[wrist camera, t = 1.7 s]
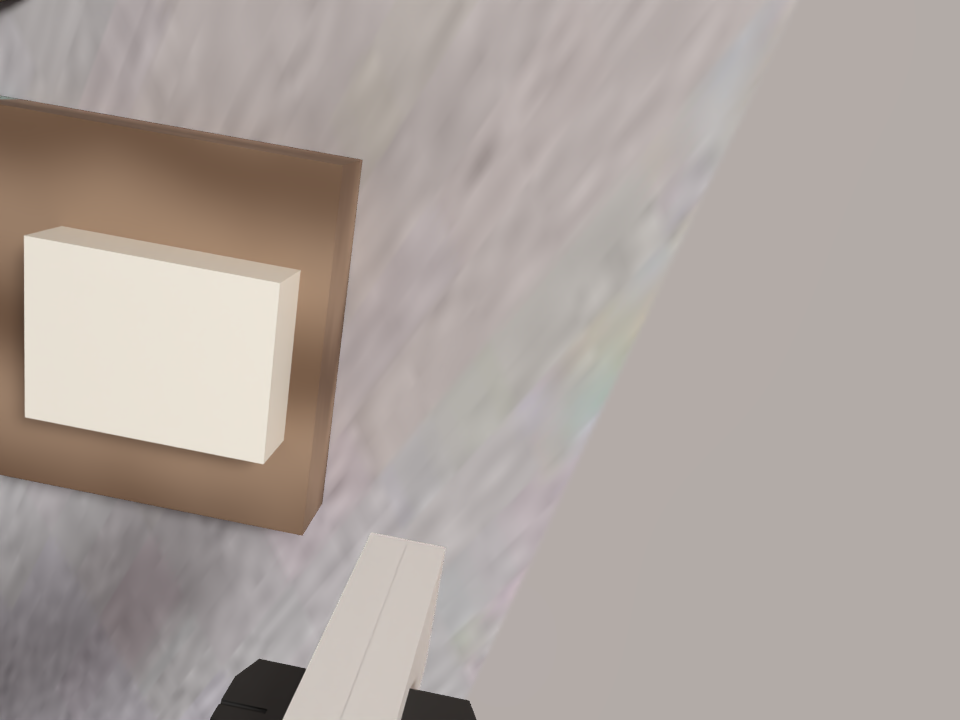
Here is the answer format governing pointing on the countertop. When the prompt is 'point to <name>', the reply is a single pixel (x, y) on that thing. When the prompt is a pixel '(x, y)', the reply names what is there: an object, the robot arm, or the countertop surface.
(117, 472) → the board
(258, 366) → the block
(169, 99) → the countertop surface
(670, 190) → the countertop surface
